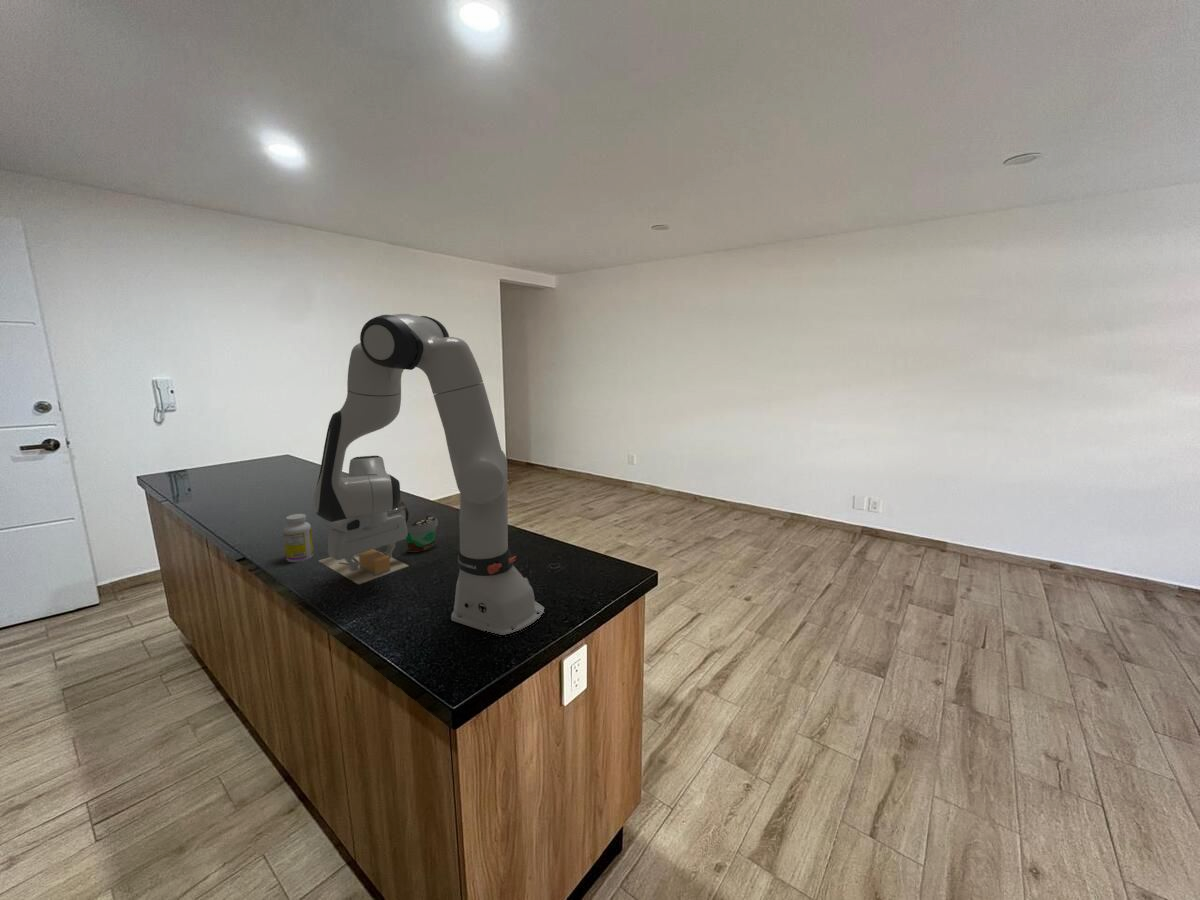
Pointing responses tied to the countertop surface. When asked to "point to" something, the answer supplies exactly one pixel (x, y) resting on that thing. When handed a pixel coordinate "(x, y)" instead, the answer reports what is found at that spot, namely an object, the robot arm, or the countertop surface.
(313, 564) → the countertop surface
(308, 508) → the countertop surface
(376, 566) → the block
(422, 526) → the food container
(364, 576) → the birch board
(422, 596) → the countertop surface
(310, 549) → the supplement bottle
